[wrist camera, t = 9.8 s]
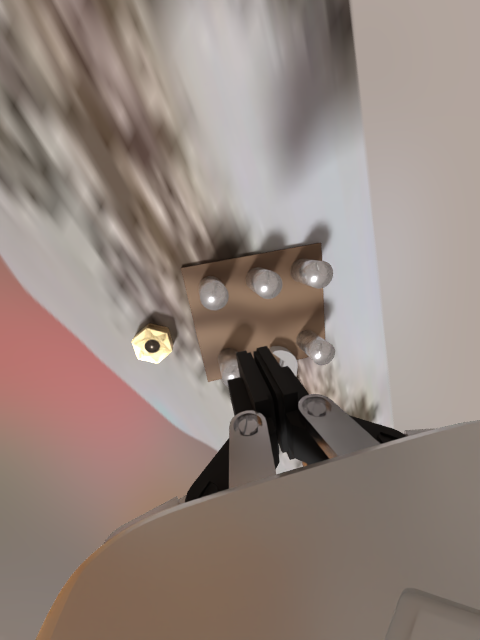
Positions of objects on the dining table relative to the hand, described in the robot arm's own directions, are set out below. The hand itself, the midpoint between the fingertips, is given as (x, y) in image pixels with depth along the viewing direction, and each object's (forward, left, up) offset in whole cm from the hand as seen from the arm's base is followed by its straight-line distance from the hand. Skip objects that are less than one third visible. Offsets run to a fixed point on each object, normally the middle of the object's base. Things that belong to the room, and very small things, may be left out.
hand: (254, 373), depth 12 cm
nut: (+4, -9, -19) cm, 21 cm away
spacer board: (+4, +5, -19) cm, 20 cm away
